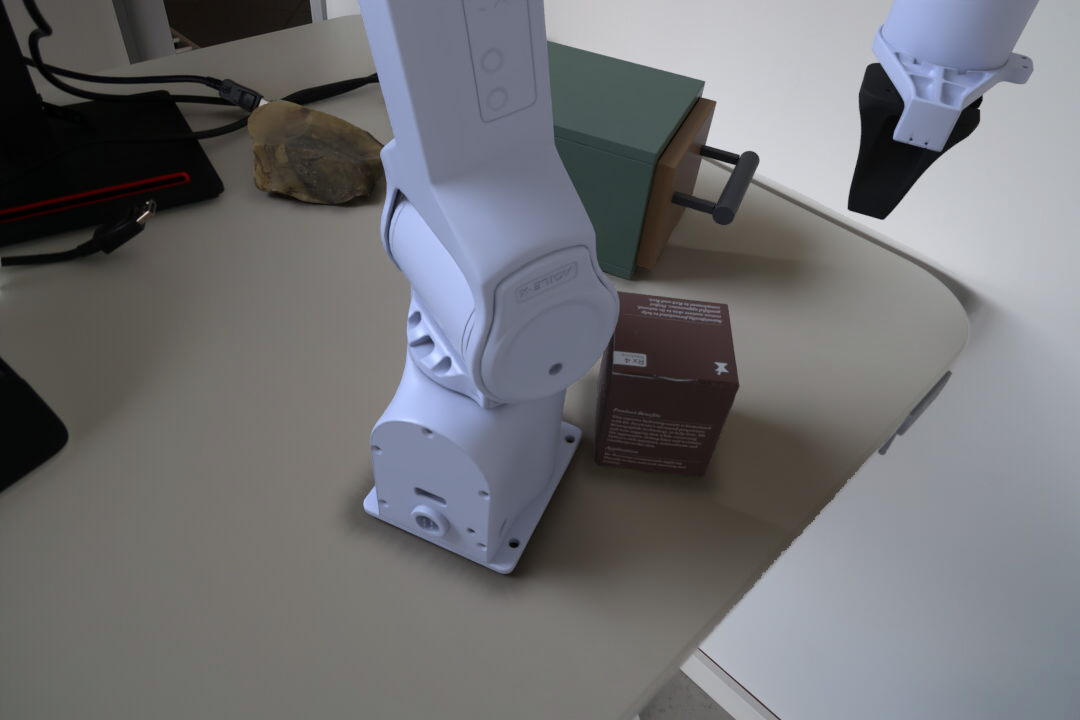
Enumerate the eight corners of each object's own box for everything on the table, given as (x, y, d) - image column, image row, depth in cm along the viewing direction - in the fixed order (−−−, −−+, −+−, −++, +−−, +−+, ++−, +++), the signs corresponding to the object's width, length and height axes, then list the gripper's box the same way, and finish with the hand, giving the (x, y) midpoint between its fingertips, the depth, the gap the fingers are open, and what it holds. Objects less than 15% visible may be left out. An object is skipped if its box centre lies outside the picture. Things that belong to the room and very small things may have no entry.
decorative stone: (402, 151, 60) (399, 110, 57) (365, 214, 53) (361, 170, 51) (277, 133, 60) (269, 91, 58) (225, 192, 54) (214, 148, 51)
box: (698, 398, 43) (732, 302, 38) (705, 482, 39) (743, 387, 33) (595, 384, 43) (614, 287, 38) (589, 467, 39) (610, 370, 33)
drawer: (744, 212, 56) (775, 116, 50) (710, 289, 49) (742, 187, 43) (543, 153, 59) (552, 57, 54) (485, 216, 53) (489, 114, 47)
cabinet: (676, 199, 58) (705, 80, 51) (629, 280, 50) (656, 153, 43) (520, 152, 61) (528, 35, 54) (453, 222, 53) (452, 95, 47)
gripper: (1113, 13, 26) (935, 306, 35) (1077, -79, 36) (945, 170, 45) (906, -29, 27) (790, 261, 37) (925, -107, 37) (829, 139, 47)
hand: (866, 209), depth 41 cm, fingers closed
